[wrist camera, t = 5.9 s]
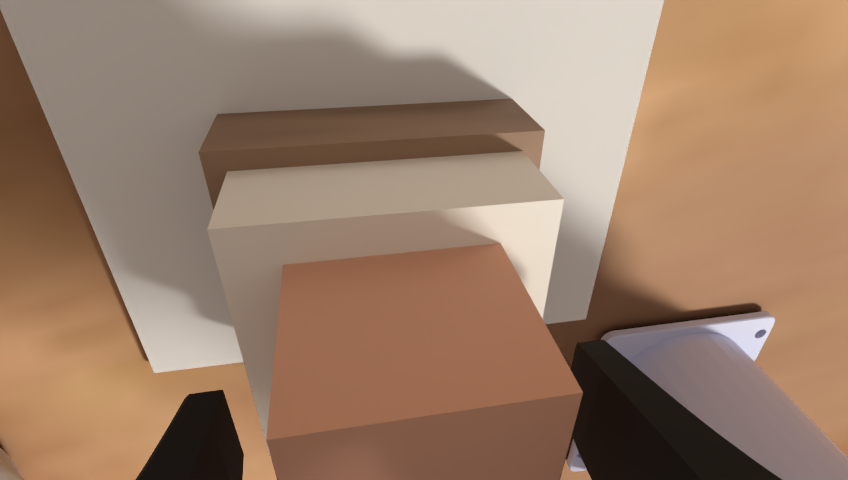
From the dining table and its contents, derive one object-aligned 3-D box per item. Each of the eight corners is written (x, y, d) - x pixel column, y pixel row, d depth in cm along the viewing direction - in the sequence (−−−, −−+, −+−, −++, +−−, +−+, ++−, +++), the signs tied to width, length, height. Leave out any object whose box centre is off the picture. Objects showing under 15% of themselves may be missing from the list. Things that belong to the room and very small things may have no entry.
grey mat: (581, 312, 20) (585, 319, 20) (157, 364, 18) (154, 372, 17) (777, -521, 9) (795, -537, 9) (-275, -684, 7) (-307, -714, 6)
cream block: (498, 352, 16) (524, 417, 14) (276, 382, 15) (269, 456, 13) (522, 150, 12) (564, 199, 10) (226, 171, 11) (207, 229, 9)
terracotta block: (485, 385, 13) (542, 545, 10) (310, 411, 12) (308, 591, 9) (500, 243, 11) (583, 393, 7) (283, 264, 10) (266, 440, 7)
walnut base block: (490, 311, 19) (511, 361, 17) (268, 338, 17) (261, 395, 15) (512, 98, 14) (545, 130, 12) (216, 114, 13) (198, 152, 11)
